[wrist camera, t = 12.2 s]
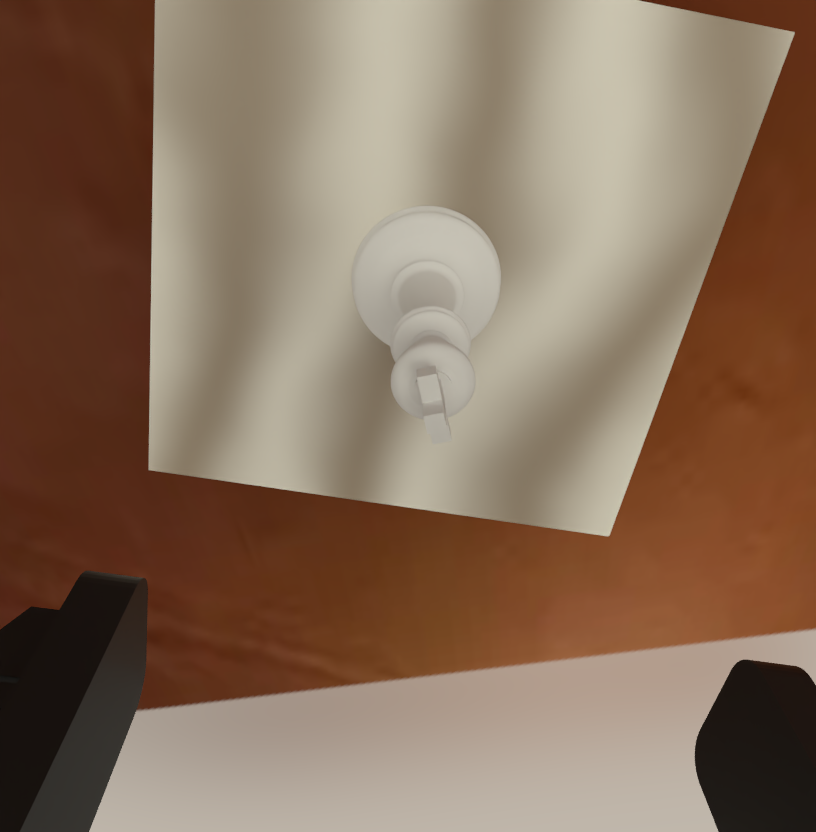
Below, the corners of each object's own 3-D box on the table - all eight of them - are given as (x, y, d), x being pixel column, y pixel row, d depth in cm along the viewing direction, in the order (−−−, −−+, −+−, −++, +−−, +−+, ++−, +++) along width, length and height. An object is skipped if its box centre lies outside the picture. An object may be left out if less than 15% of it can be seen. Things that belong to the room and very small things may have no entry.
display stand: (184, 409, 32) (148, 470, 28) (202, -75, 24) (156, -98, 20) (582, 469, 34) (609, 536, 29) (728, 31, 26) (795, 32, 21)
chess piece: (486, 189, 23) (534, 289, 14) (511, 333, 25) (565, 497, 17) (334, 224, 24) (290, 341, 15) (371, 362, 26) (352, 536, 17)
